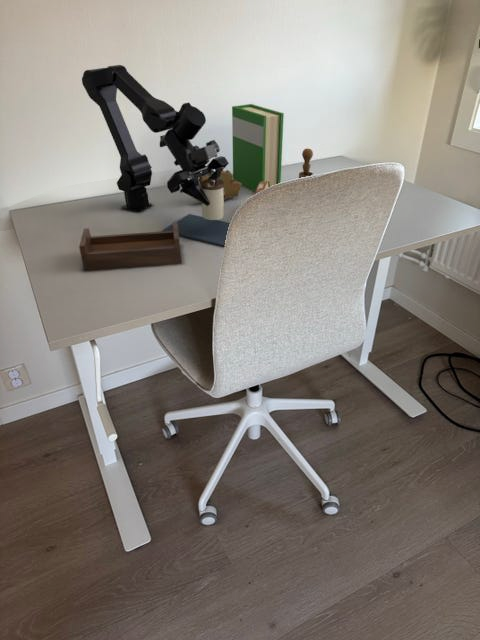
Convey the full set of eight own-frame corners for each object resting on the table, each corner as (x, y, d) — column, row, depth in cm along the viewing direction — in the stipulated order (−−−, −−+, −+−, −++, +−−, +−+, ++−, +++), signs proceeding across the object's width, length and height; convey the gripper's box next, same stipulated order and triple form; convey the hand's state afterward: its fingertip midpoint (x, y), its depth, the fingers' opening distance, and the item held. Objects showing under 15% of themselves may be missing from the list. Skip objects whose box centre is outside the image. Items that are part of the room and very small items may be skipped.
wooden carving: (236, 194, 153) (235, 163, 147) (243, 198, 150) (243, 167, 144) (190, 203, 146) (188, 171, 140) (196, 208, 143) (194, 176, 137)
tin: (263, 223, 133) (263, 194, 128) (252, 222, 134) (252, 194, 129) (270, 204, 145) (271, 177, 141) (260, 203, 146) (261, 176, 141)
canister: (203, 221, 122) (202, 184, 116) (199, 212, 127) (197, 176, 121) (227, 219, 123) (226, 182, 118) (222, 210, 128) (221, 174, 123)
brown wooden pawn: (291, 206, 144) (294, 146, 133) (311, 205, 144) (316, 145, 134) (294, 214, 138) (298, 152, 128) (316, 213, 139) (322, 151, 128)
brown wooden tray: (89, 252, 119) (83, 228, 115) (179, 245, 122) (177, 222, 118) (84, 271, 111) (78, 246, 107) (181, 263, 114) (179, 238, 110)
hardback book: (280, 190, 155) (283, 113, 142) (261, 195, 152) (263, 116, 138) (250, 176, 168) (251, 103, 154) (233, 180, 164) (232, 106, 150)
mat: (162, 232, 129) (162, 230, 129) (189, 215, 138) (189, 213, 138) (225, 247, 121) (225, 245, 121) (248, 229, 130) (248, 227, 130)
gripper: (171, 138, 109) (208, 195, 110) (222, 124, 121) (255, 175, 122) (151, 166, 118) (186, 218, 118) (201, 150, 130) (232, 197, 130)
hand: (216, 201), depth 122 cm, fingers closed on canister, 6 cm apart
